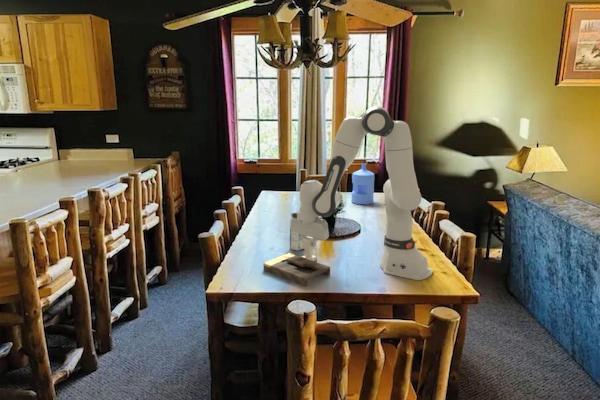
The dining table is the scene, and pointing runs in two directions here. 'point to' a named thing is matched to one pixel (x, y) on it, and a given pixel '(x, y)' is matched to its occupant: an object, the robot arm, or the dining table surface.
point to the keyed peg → (308, 248)
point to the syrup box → (295, 241)
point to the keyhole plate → (294, 268)
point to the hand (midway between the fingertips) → (309, 244)
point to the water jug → (363, 186)
